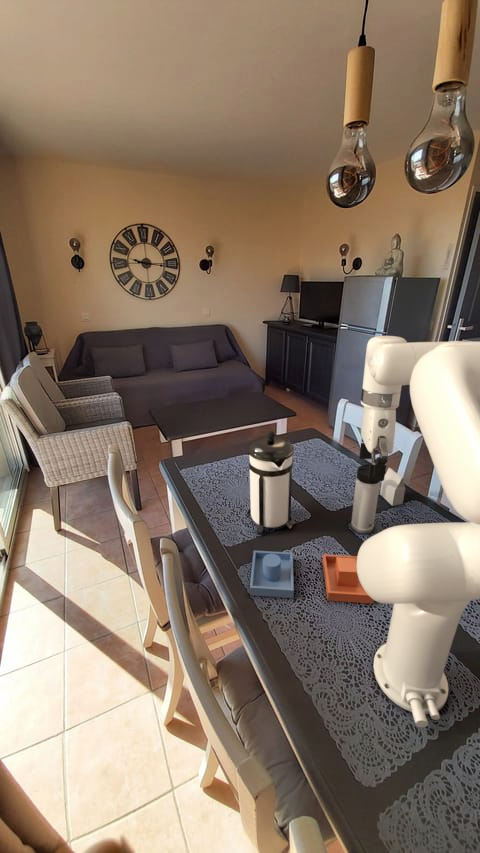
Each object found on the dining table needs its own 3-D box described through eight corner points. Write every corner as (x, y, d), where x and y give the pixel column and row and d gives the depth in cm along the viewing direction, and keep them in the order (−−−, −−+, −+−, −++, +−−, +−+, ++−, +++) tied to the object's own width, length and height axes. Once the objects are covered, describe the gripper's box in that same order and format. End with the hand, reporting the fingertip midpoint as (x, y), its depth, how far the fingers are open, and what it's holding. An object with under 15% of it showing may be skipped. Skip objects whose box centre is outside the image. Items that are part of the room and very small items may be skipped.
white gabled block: (392, 505, 115) (396, 479, 111) (380, 494, 121) (383, 468, 117) (402, 504, 116) (407, 477, 112) (389, 492, 122) (393, 466, 118)
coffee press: (304, 514, 113) (309, 426, 101) (280, 543, 101) (282, 448, 89) (257, 497, 122) (256, 414, 110) (230, 522, 110) (225, 433, 98)
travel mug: (375, 535, 103) (384, 474, 95) (351, 532, 104) (358, 472, 96) (373, 521, 108) (381, 463, 101) (350, 519, 110) (356, 461, 102)
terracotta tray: (373, 603, 82) (374, 595, 81) (327, 600, 83) (328, 592, 82) (362, 563, 93) (363, 556, 92) (322, 561, 94) (323, 554, 93)
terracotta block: (357, 587, 86) (359, 572, 84) (337, 585, 86) (338, 571, 84) (353, 572, 90) (355, 558, 88) (334, 571, 90) (336, 557, 89)
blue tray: (293, 598, 84) (293, 590, 83) (249, 595, 85) (249, 587, 84) (292, 559, 95) (292, 552, 94) (253, 557, 96) (253, 550, 95)
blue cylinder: (280, 582, 88) (280, 567, 86) (262, 581, 88) (262, 566, 86) (280, 568, 92) (281, 554, 90) (263, 567, 92) (263, 553, 90)
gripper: (412, 412, 67) (399, 490, 74) (387, 385, 83) (378, 451, 89) (370, 412, 68) (361, 489, 74) (354, 385, 83) (347, 450, 90)
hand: (370, 468), depth 82 cm, fingers open, 9 cm apart
